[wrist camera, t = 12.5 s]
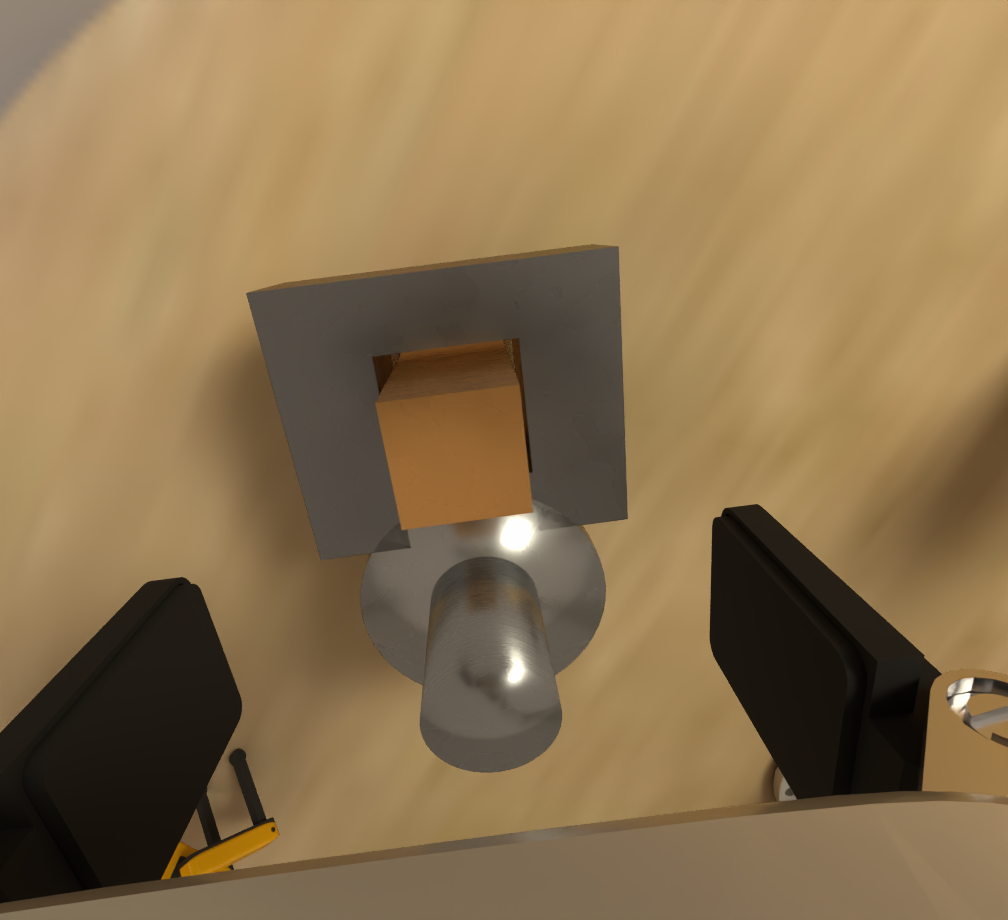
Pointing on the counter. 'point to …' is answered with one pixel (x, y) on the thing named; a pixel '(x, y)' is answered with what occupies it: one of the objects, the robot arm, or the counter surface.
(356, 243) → the counter surface
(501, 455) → the wooden block
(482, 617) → the block with square hole
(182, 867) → the robot dog
